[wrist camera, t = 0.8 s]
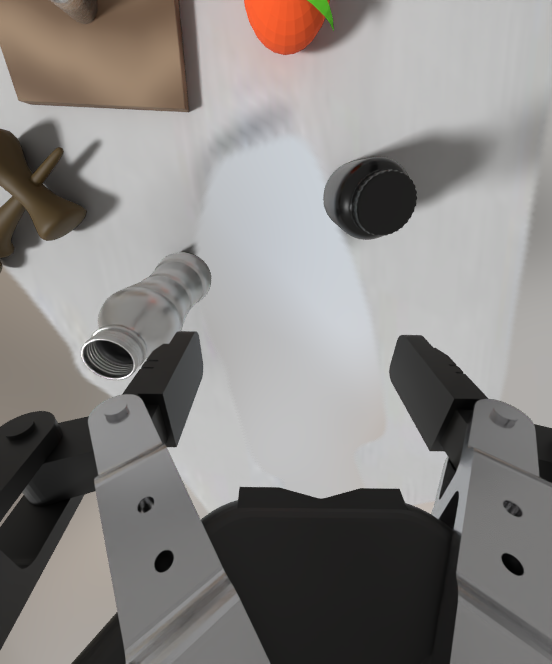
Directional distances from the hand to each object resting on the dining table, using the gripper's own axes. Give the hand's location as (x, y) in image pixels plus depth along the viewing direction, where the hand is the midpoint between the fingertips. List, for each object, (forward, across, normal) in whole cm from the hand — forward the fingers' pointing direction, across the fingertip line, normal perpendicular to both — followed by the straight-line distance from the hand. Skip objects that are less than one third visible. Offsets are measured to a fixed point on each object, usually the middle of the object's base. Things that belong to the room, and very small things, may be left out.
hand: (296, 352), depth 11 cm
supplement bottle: (+26, -8, -4) cm, 28 cm away
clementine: (+27, 0, -18) cm, 32 cm away
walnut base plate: (+26, +18, -19) cm, 37 cm away
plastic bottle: (+26, +12, +5) cm, 30 cm away
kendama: (+27, +30, -2) cm, 40 cm away
